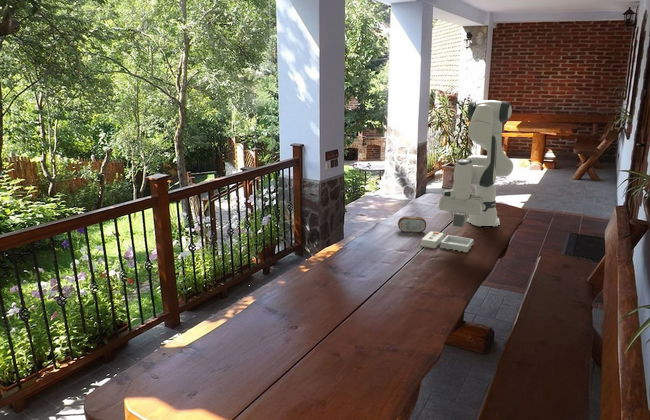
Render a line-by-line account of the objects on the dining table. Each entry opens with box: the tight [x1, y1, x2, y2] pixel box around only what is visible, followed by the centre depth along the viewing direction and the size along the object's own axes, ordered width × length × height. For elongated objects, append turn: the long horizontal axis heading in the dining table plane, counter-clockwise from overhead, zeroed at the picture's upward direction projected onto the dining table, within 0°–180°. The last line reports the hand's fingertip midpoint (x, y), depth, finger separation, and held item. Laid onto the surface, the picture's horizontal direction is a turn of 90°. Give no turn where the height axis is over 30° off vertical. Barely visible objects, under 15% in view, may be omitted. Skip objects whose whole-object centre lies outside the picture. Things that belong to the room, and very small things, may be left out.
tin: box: [397, 215, 427, 234], centre depth 263 cm, size 15×3×8 cm, turn 84°
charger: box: [452, 212, 466, 230], centre depth 239 cm, size 4×4×7 cm
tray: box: [439, 234, 474, 253], centre depth 242 cm, size 13×13×3 cm
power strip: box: [420, 230, 445, 249], centre depth 249 cm, size 21×7×4 cm, turn 151°
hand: (459, 221), depth 239 cm, fingers closed on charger, 4 cm apart
